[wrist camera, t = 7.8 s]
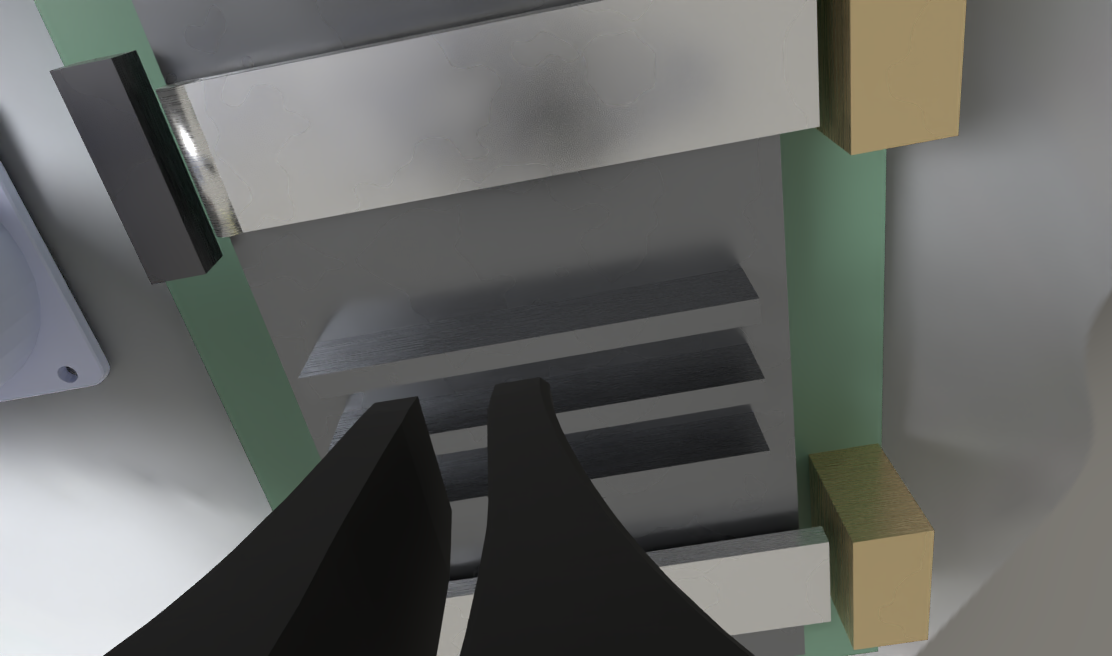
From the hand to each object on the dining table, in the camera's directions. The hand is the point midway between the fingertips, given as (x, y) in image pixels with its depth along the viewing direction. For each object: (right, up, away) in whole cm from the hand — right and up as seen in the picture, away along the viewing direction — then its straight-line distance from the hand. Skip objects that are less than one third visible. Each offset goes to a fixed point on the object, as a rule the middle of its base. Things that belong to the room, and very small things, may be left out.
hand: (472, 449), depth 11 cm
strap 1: (+2, -6, +11) cm, 13 cm away
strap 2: (0, +6, +5) cm, 8 cm away
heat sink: (+1, +1, +10) cm, 10 cm away
